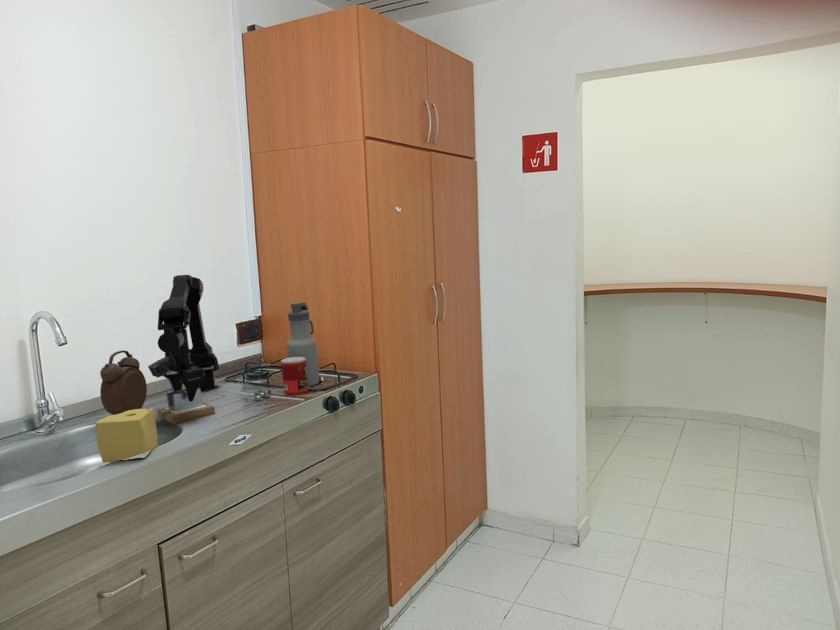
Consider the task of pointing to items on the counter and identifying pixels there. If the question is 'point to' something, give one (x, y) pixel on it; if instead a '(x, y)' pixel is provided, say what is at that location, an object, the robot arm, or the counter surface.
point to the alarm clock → (122, 385)
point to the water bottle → (303, 340)
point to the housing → (182, 400)
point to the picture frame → (186, 413)
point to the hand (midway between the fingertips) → (184, 399)
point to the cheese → (126, 434)
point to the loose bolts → (262, 395)
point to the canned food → (294, 375)
